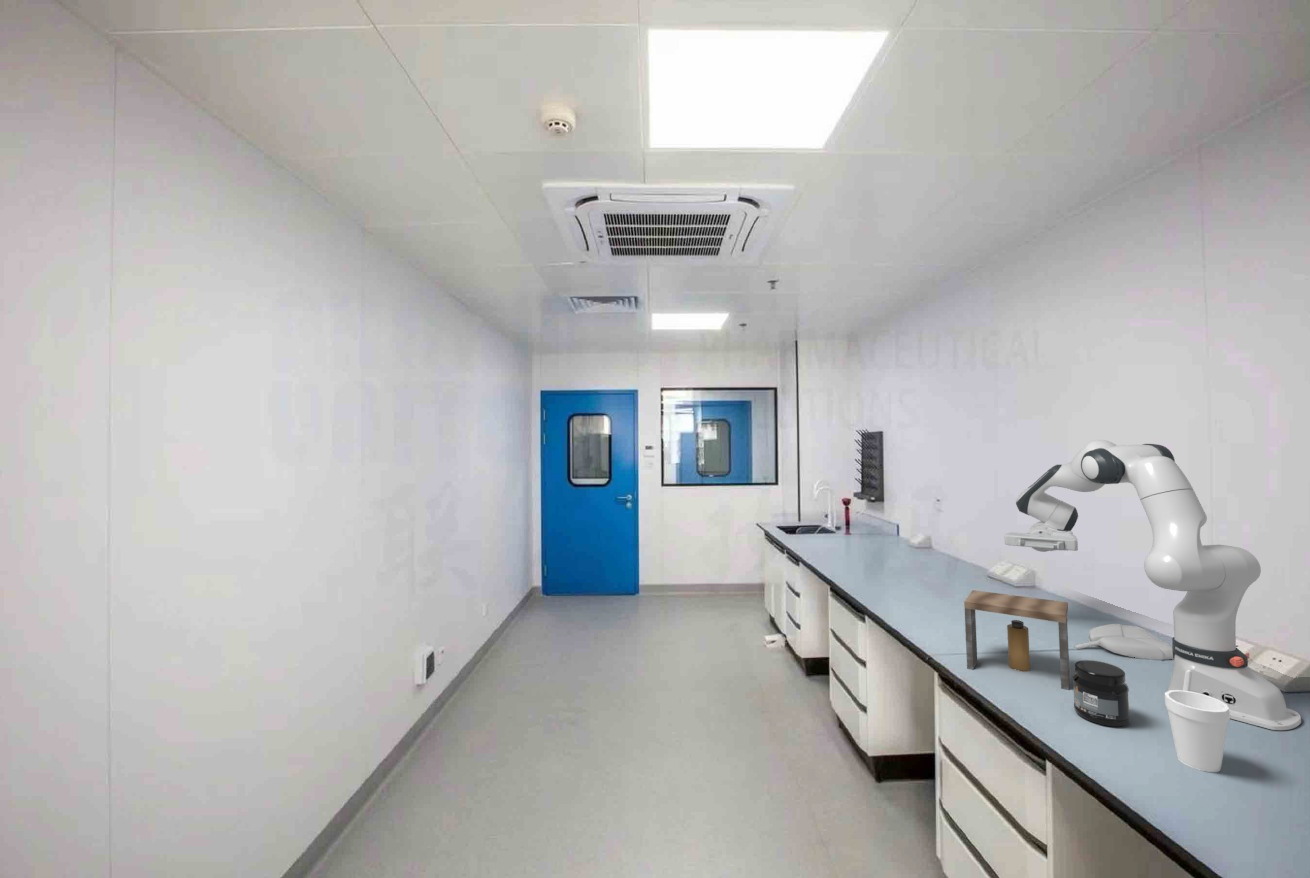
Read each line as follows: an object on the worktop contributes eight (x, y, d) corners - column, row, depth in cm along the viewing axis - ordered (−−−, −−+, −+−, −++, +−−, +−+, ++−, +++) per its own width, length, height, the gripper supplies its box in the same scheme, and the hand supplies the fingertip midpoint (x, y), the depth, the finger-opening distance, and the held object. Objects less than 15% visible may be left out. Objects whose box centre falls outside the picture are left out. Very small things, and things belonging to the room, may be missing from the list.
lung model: (1186, 661, 159) (1095, 668, 162) (1141, 640, 176) (1059, 647, 179) (1183, 638, 159) (1092, 646, 162) (1137, 620, 176) (1056, 627, 179)
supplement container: (1120, 710, 133) (1118, 662, 133) (1137, 732, 123) (1135, 680, 123) (1068, 703, 137) (1066, 656, 137) (1081, 723, 128) (1079, 673, 128)
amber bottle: (1034, 668, 157) (1032, 622, 157) (1023, 672, 155) (1021, 625, 155) (1015, 662, 162) (1013, 617, 162) (1005, 666, 160) (1003, 620, 160)
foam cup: (1197, 748, 116) (1194, 689, 116) (1245, 775, 107) (1242, 710, 107) (1155, 751, 116) (1152, 691, 116) (1199, 778, 107) (1196, 713, 107)
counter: (1070, 671, 155) (1067, 602, 155) (1068, 689, 144) (1065, 615, 144) (975, 652, 170) (972, 590, 170) (967, 668, 159) (964, 601, 160)
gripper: (1006, 527, 194) (1000, 533, 183) (1078, 531, 181) (1076, 538, 170) (1006, 544, 194) (1001, 551, 183) (1078, 550, 181) (1077, 558, 170)
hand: (1038, 545), depth 177 cm, fingers open, 8 cm apart
